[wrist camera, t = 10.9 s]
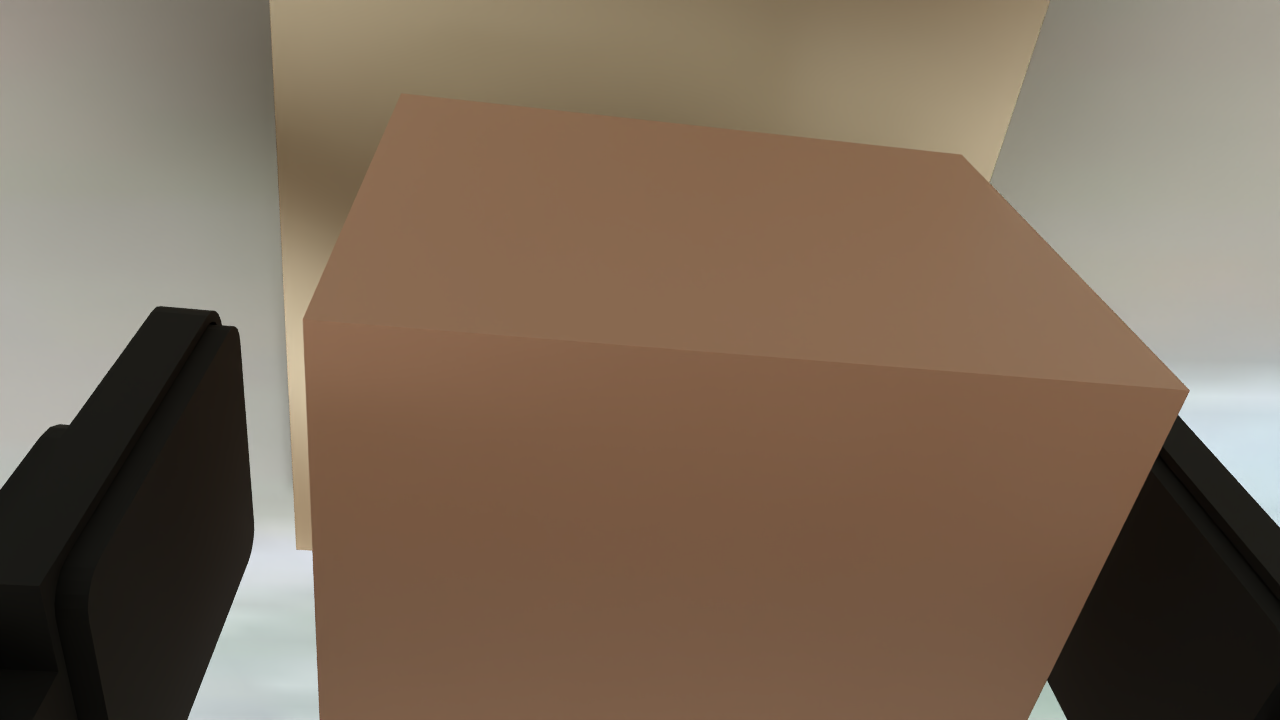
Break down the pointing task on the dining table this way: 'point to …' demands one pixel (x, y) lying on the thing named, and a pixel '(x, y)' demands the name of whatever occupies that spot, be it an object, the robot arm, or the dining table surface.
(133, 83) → the dining table surface
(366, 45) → the board
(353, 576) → the peach cube
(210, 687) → the dining table surface
